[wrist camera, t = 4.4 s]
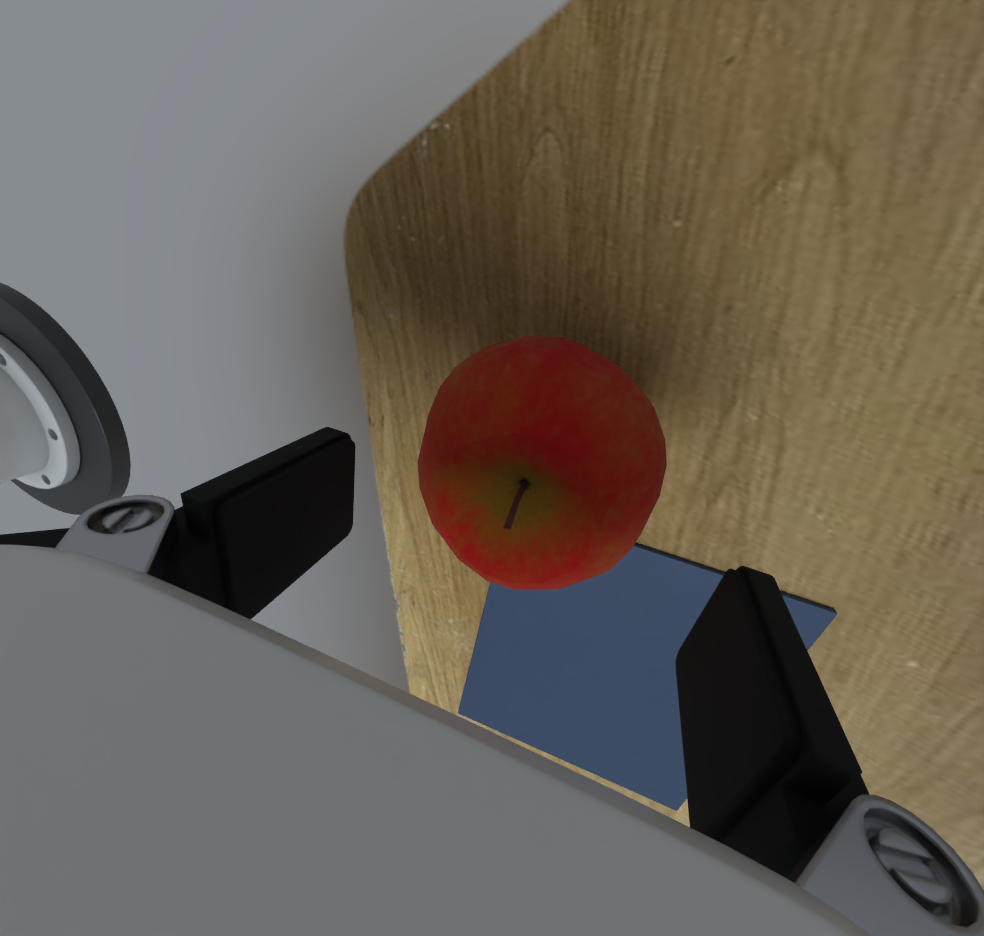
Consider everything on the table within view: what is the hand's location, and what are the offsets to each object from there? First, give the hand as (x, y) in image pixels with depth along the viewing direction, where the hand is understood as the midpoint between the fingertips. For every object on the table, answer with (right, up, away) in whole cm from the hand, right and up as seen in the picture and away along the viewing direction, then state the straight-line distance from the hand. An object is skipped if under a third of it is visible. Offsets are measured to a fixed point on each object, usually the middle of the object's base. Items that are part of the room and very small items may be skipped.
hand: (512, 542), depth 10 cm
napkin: (+7, -11, +16) cm, 21 cm away
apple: (+3, +5, +10) cm, 12 cm away
